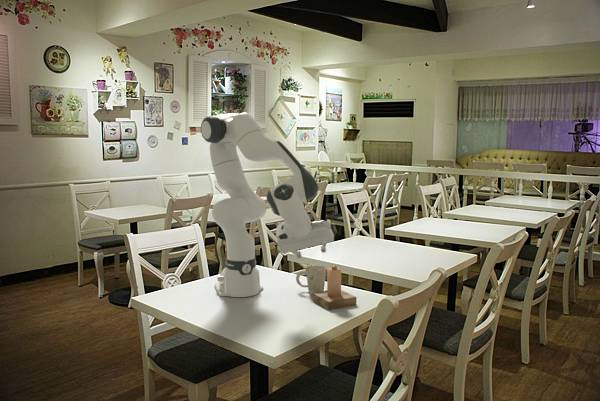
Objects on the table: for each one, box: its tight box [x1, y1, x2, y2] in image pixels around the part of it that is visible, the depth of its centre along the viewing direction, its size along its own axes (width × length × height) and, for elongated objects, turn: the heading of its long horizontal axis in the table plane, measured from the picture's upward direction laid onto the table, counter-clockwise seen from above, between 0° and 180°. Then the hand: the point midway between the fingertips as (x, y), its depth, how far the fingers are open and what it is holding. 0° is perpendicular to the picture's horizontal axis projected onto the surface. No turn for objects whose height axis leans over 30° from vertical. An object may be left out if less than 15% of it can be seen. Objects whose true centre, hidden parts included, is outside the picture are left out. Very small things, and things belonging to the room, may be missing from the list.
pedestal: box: [312, 289, 357, 311], centre depth 190 cm, size 12×12×3 cm
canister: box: [326, 265, 342, 297], centre depth 189 cm, size 5×5×11 cm
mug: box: [295, 265, 327, 295], centre depth 203 cm, size 8×13×10 cm, turn 78°
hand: (311, 253), depth 182 cm, fingers open, 8 cm apart
